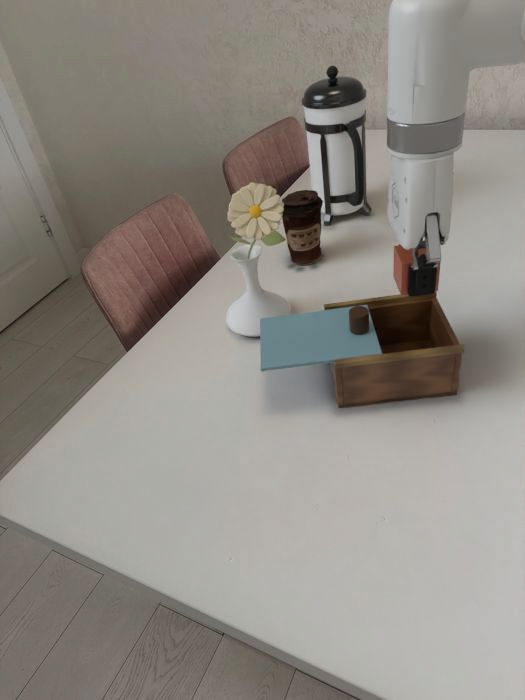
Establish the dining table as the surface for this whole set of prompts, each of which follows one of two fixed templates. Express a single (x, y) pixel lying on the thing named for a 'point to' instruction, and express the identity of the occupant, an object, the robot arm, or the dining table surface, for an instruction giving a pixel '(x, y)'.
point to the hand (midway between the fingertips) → (415, 281)
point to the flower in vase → (254, 256)
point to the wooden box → (401, 353)
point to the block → (406, 268)
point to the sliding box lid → (317, 337)
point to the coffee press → (337, 143)
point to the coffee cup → (303, 226)
